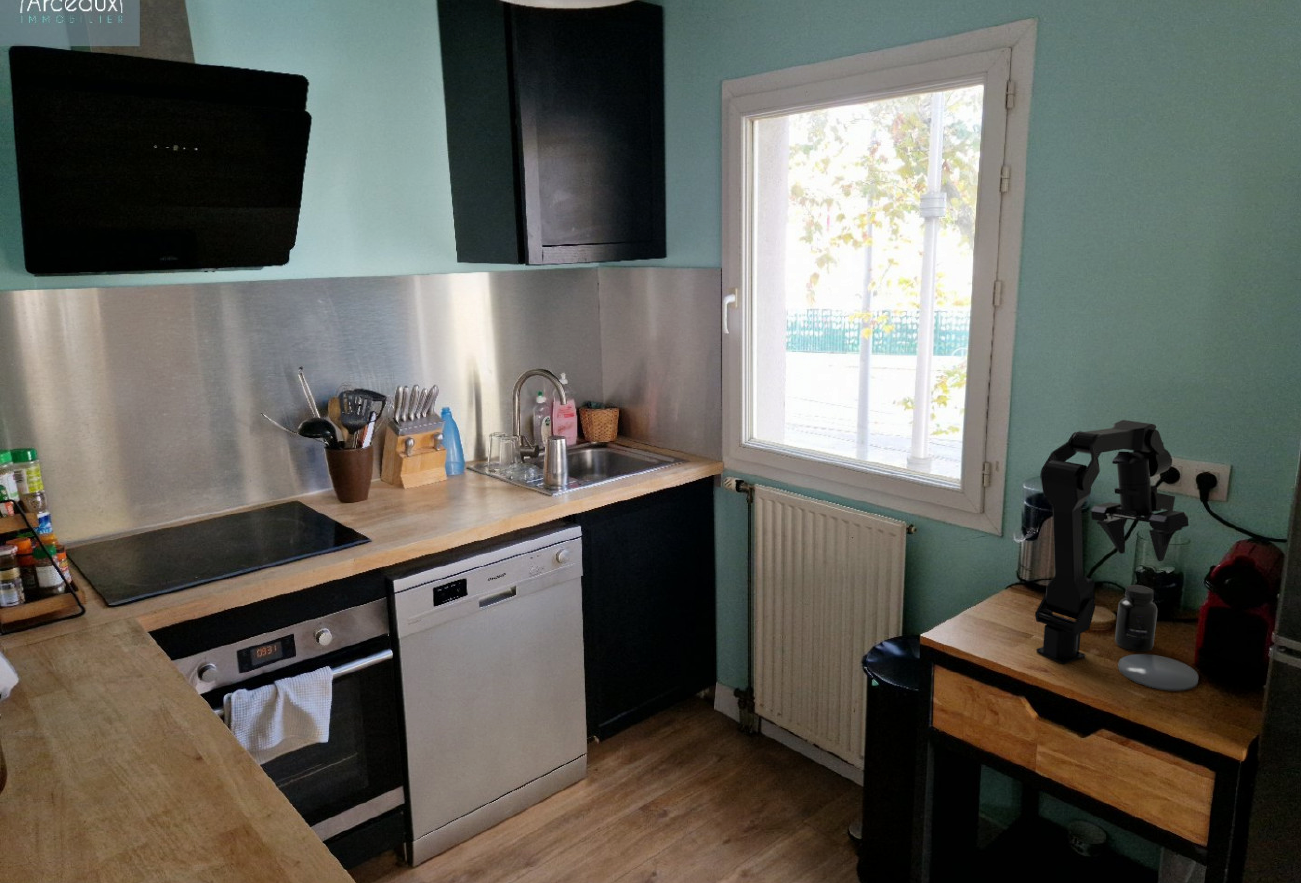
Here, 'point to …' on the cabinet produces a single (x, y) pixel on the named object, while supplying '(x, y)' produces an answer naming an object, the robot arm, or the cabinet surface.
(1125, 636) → the supplement bottle
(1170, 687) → the disc
